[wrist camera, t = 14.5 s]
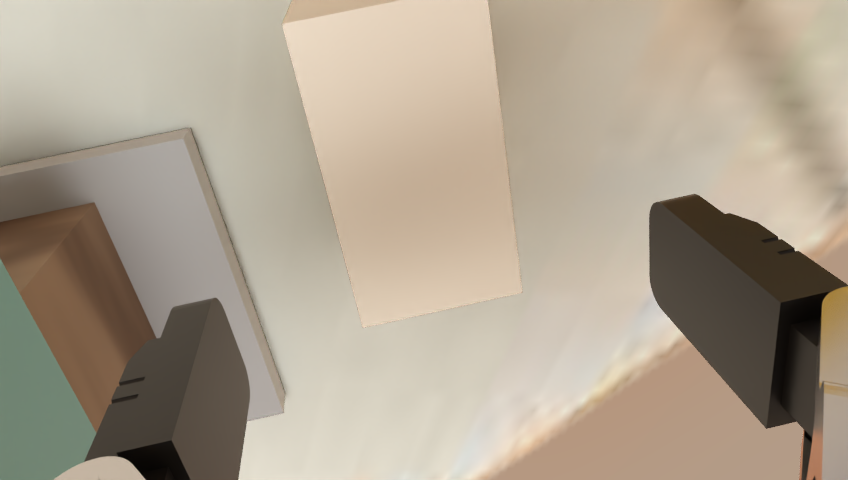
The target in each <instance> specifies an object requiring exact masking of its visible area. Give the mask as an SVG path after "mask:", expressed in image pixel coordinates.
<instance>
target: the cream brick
mask: <svg viewBox="0 0 848 480" xmlns="http://www.w3.org/2000/svg"><path fill="white" fill-rule="evenodd" d="M282 27H283V31H284V34H285V38H286V42H287V46H288V49H289V53H290V57H291V61H292V64H293V68H294V72H295V76H296V79H297V83H298V87H299V91H300V94H301V98H302V102H303V106H304V109H305V113H306V117H307V121H308V124H309V128H310V132H311V136H312V140H313V143H314V147H315V151H316V155H317V158H318V162H319V166H320V170H321V173H322V177H323V181H324V185H325V188H326V192H327V196H328V200H329V203H330V207H331V211H332V215H333V218H334V222H335V226H336V230H337V233H338V237H339V241H340V245H341V248H342V252H343V256H344V260H345V263H346V267H347V271H348V275H349V278H350V282H351V286H352V290H353V293H354V297H355V301H356V305H357V308H358V312H359V316H360V320H361V323H362V327H363V328H366V327H370V326H375V325H379V324H384V323H388V322H393V321H397V320H402V319H406V318H411V317H415V316H420V315H424V314H429V313H433V312H438V311H442V310H447V309H451V308H456V307H460V306H465V305H469V304H474V303H478V302H483V301H487V300H492V299H496V298H501V297H506V296H510V295H515V294H519V293H522V284H521V276H520V267H519V259H518V251H517V242H516V234H515V225H514V217H513V208H512V200H511V191H510V183H509V174H508V166H507V158H506V149H505V141H504V132H503V124H502V115H501V107H500V98H499V90H498V82H497V73H496V65H495V56H494V48H493V39H492V31H491V22H490V14H489V5H488V0H292V2H291V4H290V6H289V9H288V11H287V13H286V16H285V18H284V20H283V23H282Z"/></svg>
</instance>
